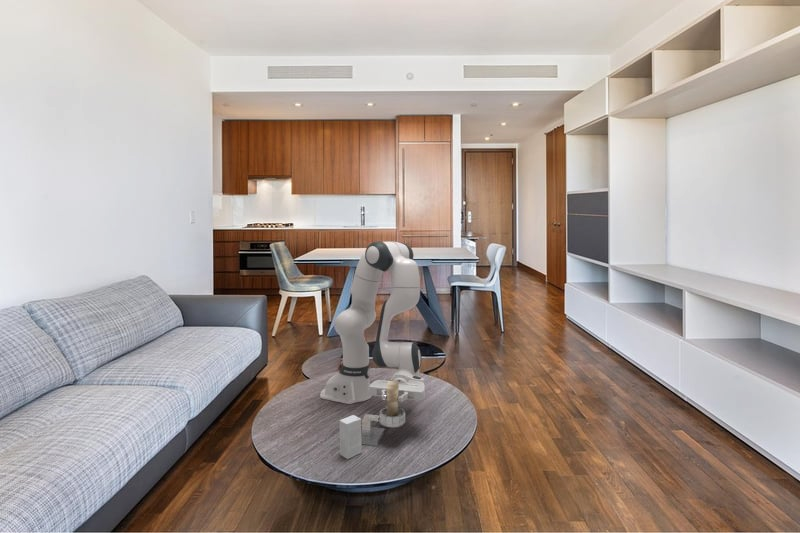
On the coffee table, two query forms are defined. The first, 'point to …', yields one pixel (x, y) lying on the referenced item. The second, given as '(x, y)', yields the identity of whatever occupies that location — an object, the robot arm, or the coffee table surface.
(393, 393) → the rail post
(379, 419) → the cup bracket
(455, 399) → the coffee table surface
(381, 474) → the coffee table surface
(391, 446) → the coffee table surface
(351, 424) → the skincare box
